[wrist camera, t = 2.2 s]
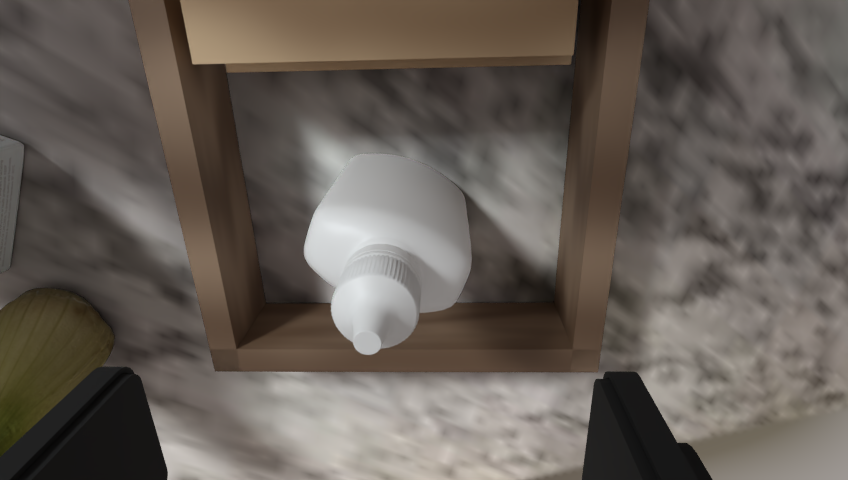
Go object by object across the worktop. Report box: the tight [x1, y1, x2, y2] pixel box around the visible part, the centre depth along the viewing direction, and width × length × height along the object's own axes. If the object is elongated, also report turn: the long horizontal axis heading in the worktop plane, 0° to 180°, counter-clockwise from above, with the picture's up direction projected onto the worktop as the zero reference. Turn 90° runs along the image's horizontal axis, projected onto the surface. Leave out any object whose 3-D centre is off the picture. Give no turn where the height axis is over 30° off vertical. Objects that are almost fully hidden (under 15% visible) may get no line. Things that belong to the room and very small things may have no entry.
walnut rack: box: [128, 0, 649, 372], centre depth 21 cm, size 17×17×4 cm
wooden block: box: [180, 0, 578, 73], centre depth 18 cm, size 4×13×4 cm, turn 91°
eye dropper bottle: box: [304, 153, 472, 355], centre depth 18 cm, size 4×6×12 cm
